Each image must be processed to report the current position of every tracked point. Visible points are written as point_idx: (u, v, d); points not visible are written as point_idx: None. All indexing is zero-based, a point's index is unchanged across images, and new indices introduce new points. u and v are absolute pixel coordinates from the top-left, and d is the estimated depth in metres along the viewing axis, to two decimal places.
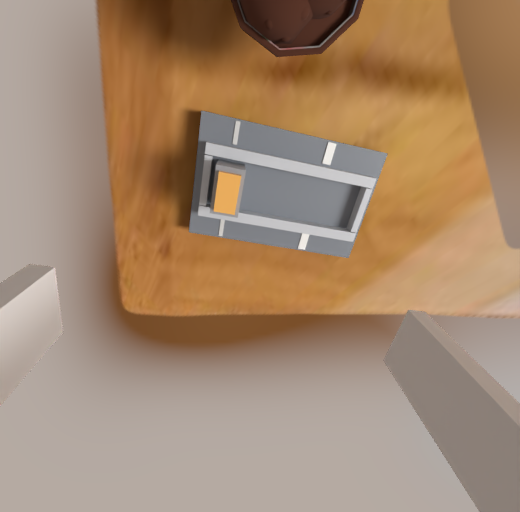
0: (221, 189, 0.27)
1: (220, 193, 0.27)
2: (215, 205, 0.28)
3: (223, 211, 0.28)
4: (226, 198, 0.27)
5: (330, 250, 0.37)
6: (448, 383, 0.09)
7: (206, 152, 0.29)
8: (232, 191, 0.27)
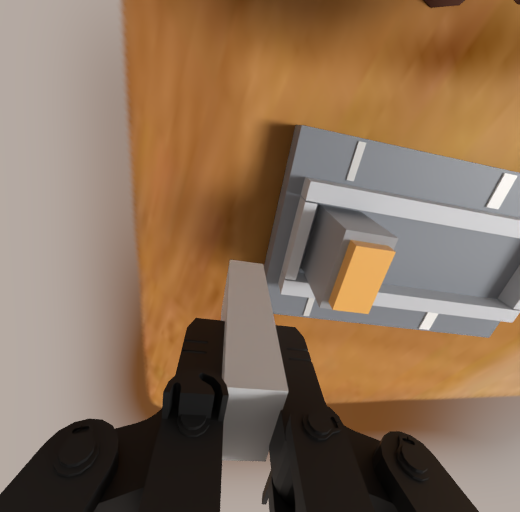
0: (354, 275, 0.14)
1: (351, 280, 0.15)
2: (338, 300, 0.15)
3: (350, 309, 0.15)
4: (360, 289, 0.15)
5: (464, 329, 0.25)
6: None
7: (308, 198, 0.17)
8: (373, 277, 0.15)
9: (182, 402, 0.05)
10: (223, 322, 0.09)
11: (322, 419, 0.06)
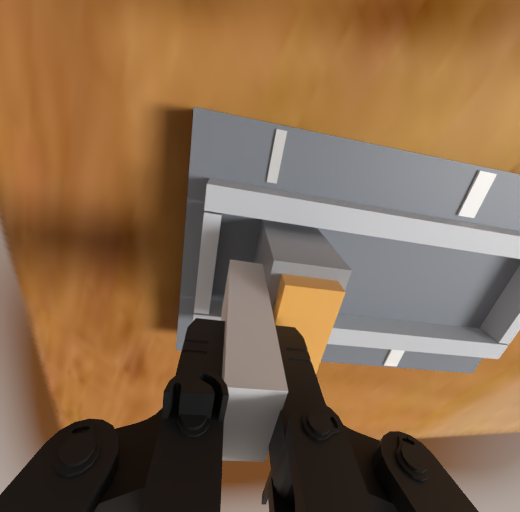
0: (288, 324, 0.10)
1: None
2: None
3: None
4: None
5: (441, 364, 0.20)
6: None
7: (207, 207, 0.12)
8: (316, 327, 0.10)
9: (182, 402, 0.05)
10: (223, 322, 0.09)
11: (322, 419, 0.06)
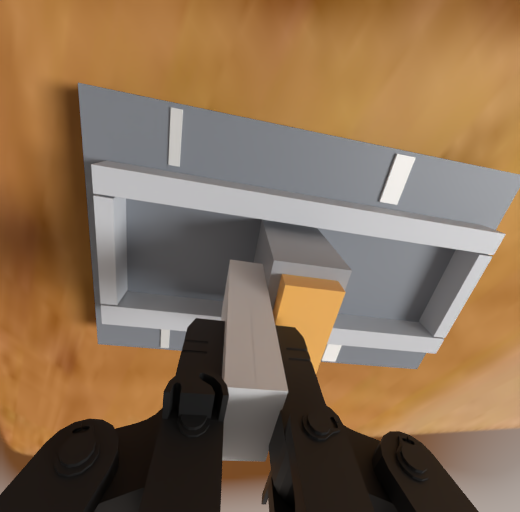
0: (288, 324, 0.10)
1: None
2: None
3: None
4: None
5: (383, 360, 0.19)
6: None
7: (96, 189, 0.12)
8: (316, 327, 0.10)
9: (182, 402, 0.05)
10: (223, 322, 0.09)
11: (322, 419, 0.06)
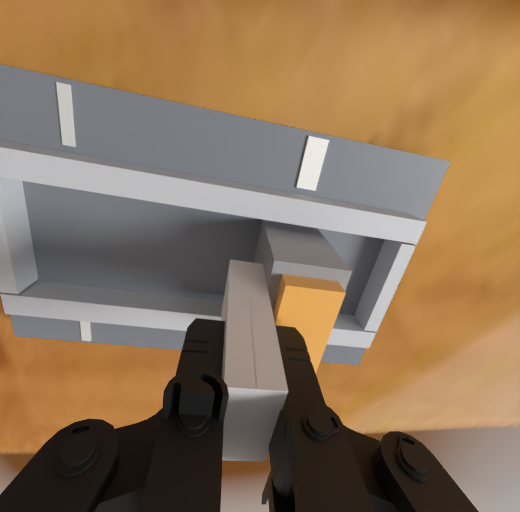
0: (288, 324, 0.10)
1: None
2: None
3: None
4: None
5: None
6: None
7: None
8: (316, 327, 0.10)
9: (182, 402, 0.05)
10: (223, 322, 0.09)
11: (322, 419, 0.06)
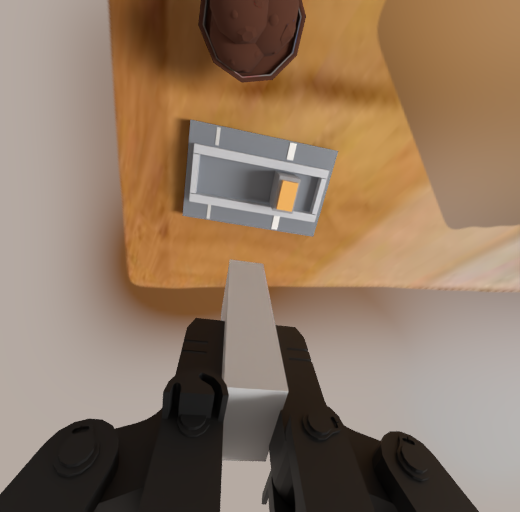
0: (283, 193, 0.37)
1: (283, 195, 0.38)
2: (278, 205, 0.38)
3: (283, 209, 0.38)
4: (287, 199, 0.38)
5: (297, 230, 0.46)
6: None
7: (194, 151, 0.38)
8: (291, 194, 0.38)
9: (182, 402, 0.05)
10: (223, 322, 0.09)
11: (322, 419, 0.06)
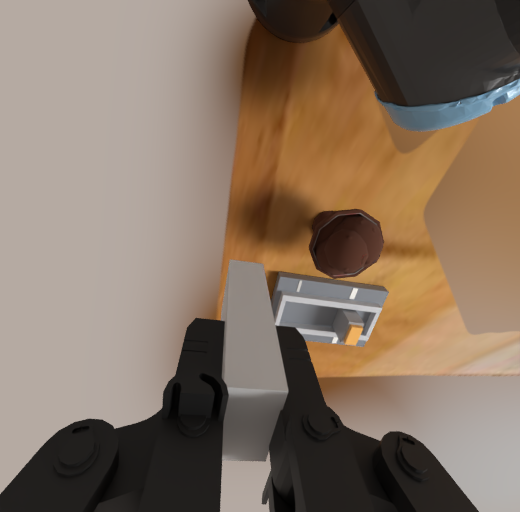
0: (351, 334, 0.49)
1: (350, 336, 0.49)
2: (346, 341, 0.50)
3: (350, 344, 0.50)
4: (353, 338, 0.50)
5: None
6: None
7: (282, 299, 0.50)
8: (357, 335, 0.49)
9: (182, 402, 0.05)
10: (223, 322, 0.09)
11: (322, 419, 0.06)
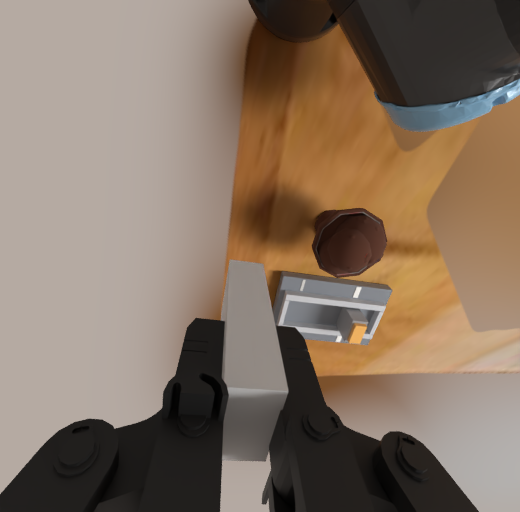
0: (355, 333, 0.49)
1: (354, 334, 0.50)
2: (350, 340, 0.50)
3: (354, 342, 0.50)
4: (357, 337, 0.50)
5: None
6: None
7: (286, 299, 0.50)
8: (361, 333, 0.50)
9: (182, 402, 0.05)
10: (223, 322, 0.09)
11: (322, 419, 0.06)
